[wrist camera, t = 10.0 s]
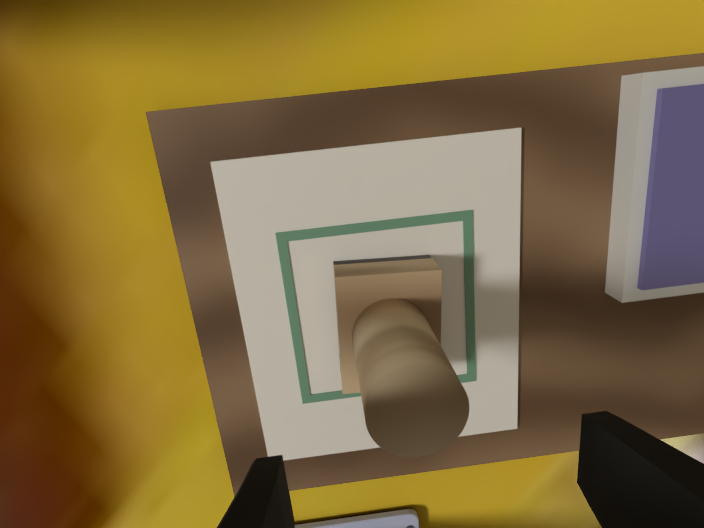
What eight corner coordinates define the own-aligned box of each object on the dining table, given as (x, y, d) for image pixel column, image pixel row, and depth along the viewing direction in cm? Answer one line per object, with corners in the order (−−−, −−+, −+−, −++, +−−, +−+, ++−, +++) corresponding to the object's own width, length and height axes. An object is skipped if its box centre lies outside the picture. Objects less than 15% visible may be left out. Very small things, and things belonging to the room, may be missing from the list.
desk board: (746, 412, 24) (763, 424, 23) (238, 482, 23) (235, 498, 22) (819, 42, 19) (847, 38, 18) (154, 112, 18) (145, 111, 17)
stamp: (428, 360, 20) (482, 477, 14) (340, 368, 20) (351, 490, 14) (429, 254, 19) (490, 328, 12) (333, 261, 19) (342, 340, 12)
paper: (515, 425, 22) (517, 429, 22) (269, 459, 22) (269, 463, 21) (519, 127, 18) (522, 127, 18) (211, 161, 17) (209, 162, 17)
